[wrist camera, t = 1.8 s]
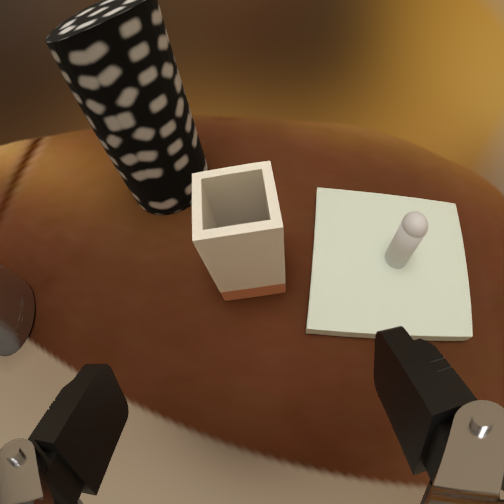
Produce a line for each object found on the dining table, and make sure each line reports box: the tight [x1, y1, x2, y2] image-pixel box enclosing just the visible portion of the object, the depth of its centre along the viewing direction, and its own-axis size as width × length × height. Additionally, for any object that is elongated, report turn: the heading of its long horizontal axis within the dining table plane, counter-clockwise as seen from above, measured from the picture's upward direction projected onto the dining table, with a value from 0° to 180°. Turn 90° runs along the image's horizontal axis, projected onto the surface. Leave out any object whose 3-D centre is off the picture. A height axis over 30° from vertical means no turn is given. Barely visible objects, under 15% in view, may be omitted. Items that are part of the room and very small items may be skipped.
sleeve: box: [192, 161, 286, 301], centre depth 23 cm, size 5×5×10 cm
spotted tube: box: [46, 0, 209, 215], centre depth 24 cm, size 8×8×20 cm
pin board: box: [306, 188, 473, 341], centre depth 23 cm, size 14×13×8 cm
